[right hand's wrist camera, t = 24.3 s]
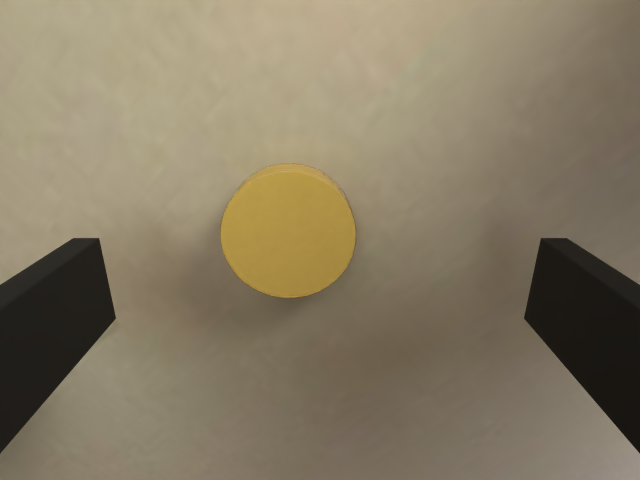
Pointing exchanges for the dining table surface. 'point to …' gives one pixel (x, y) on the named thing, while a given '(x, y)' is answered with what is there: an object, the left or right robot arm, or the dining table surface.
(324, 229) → the lid
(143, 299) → the dining table surface
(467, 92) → the dining table surface
